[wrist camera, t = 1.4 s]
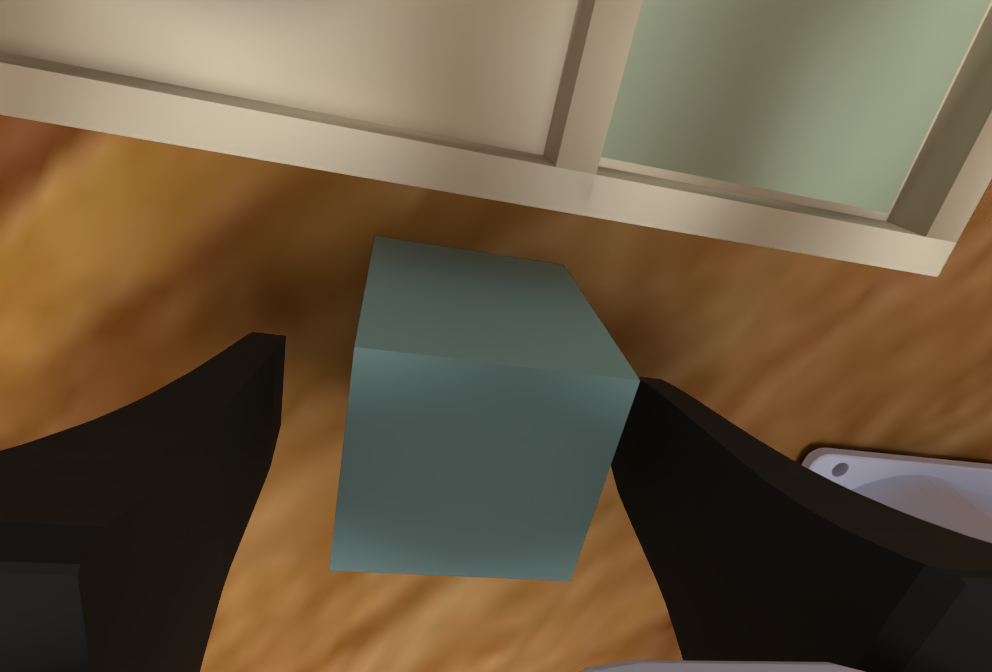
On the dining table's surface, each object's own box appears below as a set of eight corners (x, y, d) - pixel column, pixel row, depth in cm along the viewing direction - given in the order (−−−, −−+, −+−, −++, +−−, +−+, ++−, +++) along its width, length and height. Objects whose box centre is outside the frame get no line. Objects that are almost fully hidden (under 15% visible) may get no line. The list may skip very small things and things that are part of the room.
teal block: (563, 264, 14) (640, 380, 10) (522, 418, 16) (570, 581, 11) (374, 235, 14) (354, 346, 9) (355, 401, 15) (329, 570, 11)
